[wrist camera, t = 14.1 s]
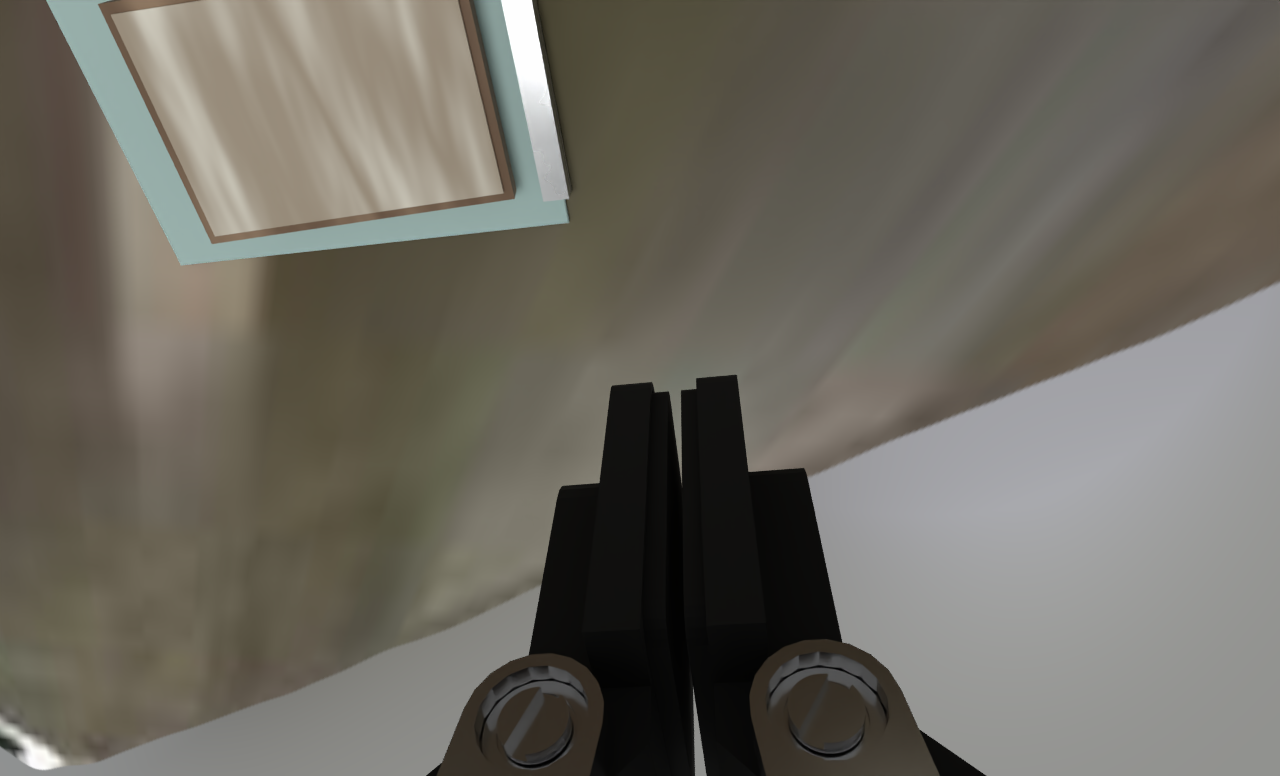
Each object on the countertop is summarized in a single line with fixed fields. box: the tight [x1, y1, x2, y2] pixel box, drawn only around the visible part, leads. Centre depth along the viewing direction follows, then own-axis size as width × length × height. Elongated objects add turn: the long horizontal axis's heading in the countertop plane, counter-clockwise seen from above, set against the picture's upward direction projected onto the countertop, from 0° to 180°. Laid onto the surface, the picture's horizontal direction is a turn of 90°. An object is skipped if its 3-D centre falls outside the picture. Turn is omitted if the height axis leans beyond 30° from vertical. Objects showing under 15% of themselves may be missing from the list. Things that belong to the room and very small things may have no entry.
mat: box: [46, 0, 569, 265], centre depth 34 cm, size 20×14×1 cm
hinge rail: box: [501, 0, 572, 202], centre depth 33 cm, size 1×11×1 cm, turn 8°
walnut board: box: [98, 0, 517, 244], centre depth 33 cm, size 1×10×14 cm
